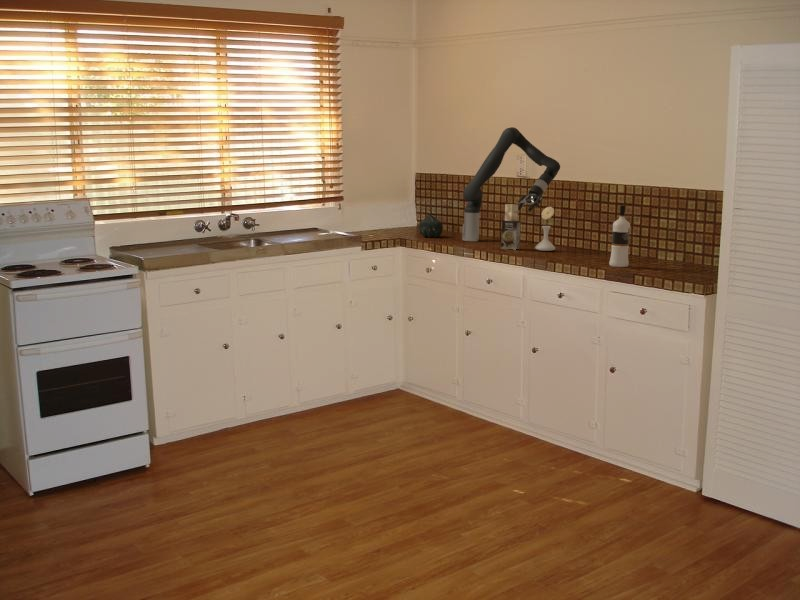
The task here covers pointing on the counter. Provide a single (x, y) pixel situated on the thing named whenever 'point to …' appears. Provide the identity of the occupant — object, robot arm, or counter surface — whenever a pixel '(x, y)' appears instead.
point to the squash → (430, 227)
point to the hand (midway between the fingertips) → (523, 209)
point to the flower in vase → (546, 231)
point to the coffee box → (510, 234)
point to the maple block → (511, 212)
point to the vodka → (620, 241)
